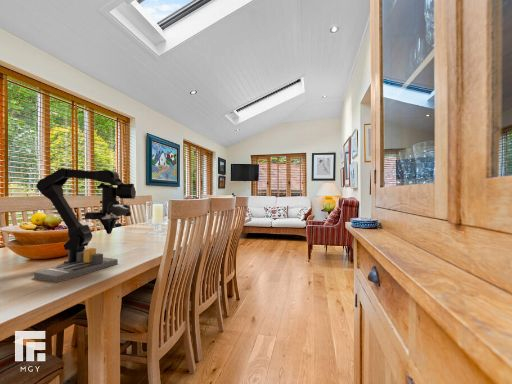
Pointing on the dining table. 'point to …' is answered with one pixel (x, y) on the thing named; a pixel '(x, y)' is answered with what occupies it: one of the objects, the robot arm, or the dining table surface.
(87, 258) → the toggle
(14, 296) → the dining table surface
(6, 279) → the dining table surface
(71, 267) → the panel
